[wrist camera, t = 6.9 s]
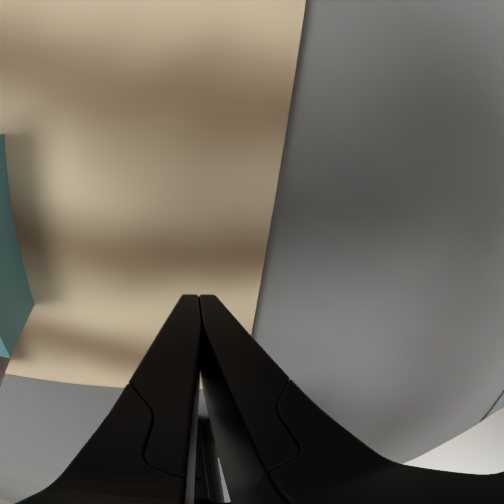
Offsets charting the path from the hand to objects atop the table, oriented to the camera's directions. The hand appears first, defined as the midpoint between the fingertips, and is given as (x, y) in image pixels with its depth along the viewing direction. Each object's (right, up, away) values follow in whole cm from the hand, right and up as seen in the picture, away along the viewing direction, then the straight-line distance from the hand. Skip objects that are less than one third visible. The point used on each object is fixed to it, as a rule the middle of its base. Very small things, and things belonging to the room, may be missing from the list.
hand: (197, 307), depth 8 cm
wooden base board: (-11, +3, +3) cm, 12 cm away
